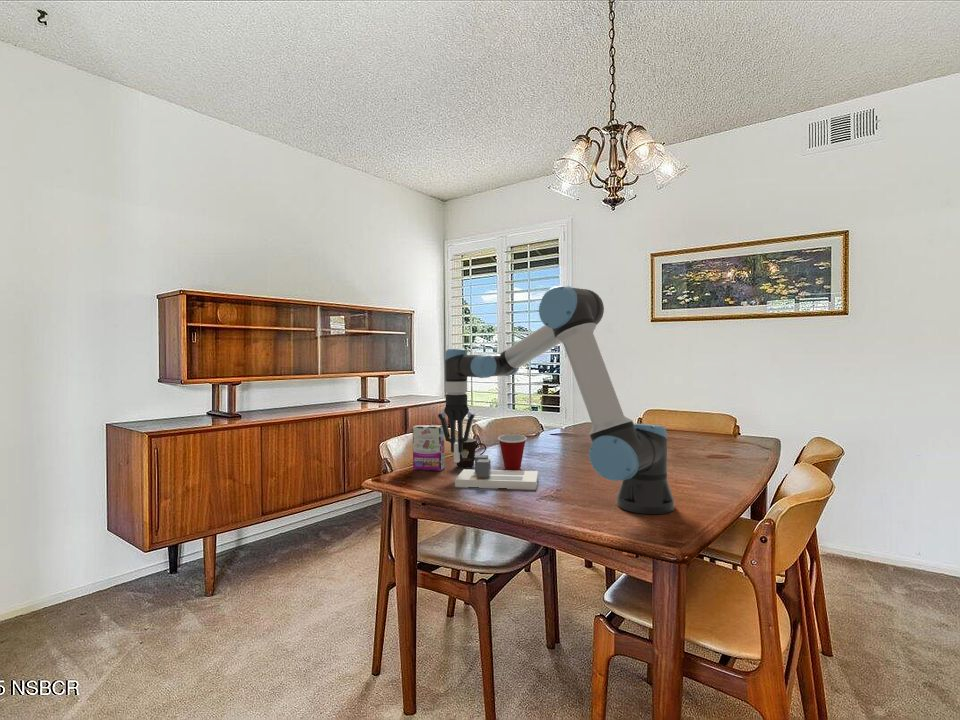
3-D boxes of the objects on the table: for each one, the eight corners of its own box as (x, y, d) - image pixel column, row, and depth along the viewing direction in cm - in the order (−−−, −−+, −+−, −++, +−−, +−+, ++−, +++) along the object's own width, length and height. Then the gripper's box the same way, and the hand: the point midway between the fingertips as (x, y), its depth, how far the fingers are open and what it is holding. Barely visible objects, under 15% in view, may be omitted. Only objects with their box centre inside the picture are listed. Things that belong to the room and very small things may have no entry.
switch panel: (535, 489, 157) (535, 481, 157) (455, 487, 161) (455, 479, 161) (538, 478, 171) (537, 470, 171) (463, 476, 175) (463, 468, 175)
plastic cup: (498, 472, 180) (497, 439, 180) (498, 465, 191) (497, 434, 190) (528, 472, 179) (527, 439, 179) (526, 465, 190) (526, 434, 190)
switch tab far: (486, 472, 168) (486, 457, 168) (474, 472, 169) (474, 457, 168) (488, 469, 172) (488, 455, 172) (476, 469, 172) (476, 454, 172)
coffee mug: (449, 467, 189) (449, 441, 188) (461, 462, 196) (460, 437, 196) (476, 470, 183) (476, 443, 183) (487, 465, 191) (487, 439, 191)
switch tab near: (488, 477, 161) (488, 462, 161) (476, 477, 161) (476, 461, 161) (490, 474, 165) (490, 459, 165) (478, 474, 165) (478, 459, 165)
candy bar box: (445, 468, 187) (444, 425, 187) (441, 471, 182) (440, 427, 182) (417, 467, 190) (416, 424, 190) (412, 470, 185) (411, 426, 185)
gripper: (476, 392, 174) (477, 459, 174) (440, 392, 176) (441, 458, 176) (473, 394, 166) (473, 464, 167) (435, 394, 168) (435, 463, 169)
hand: (456, 461), depth 172 cm, fingers closed
